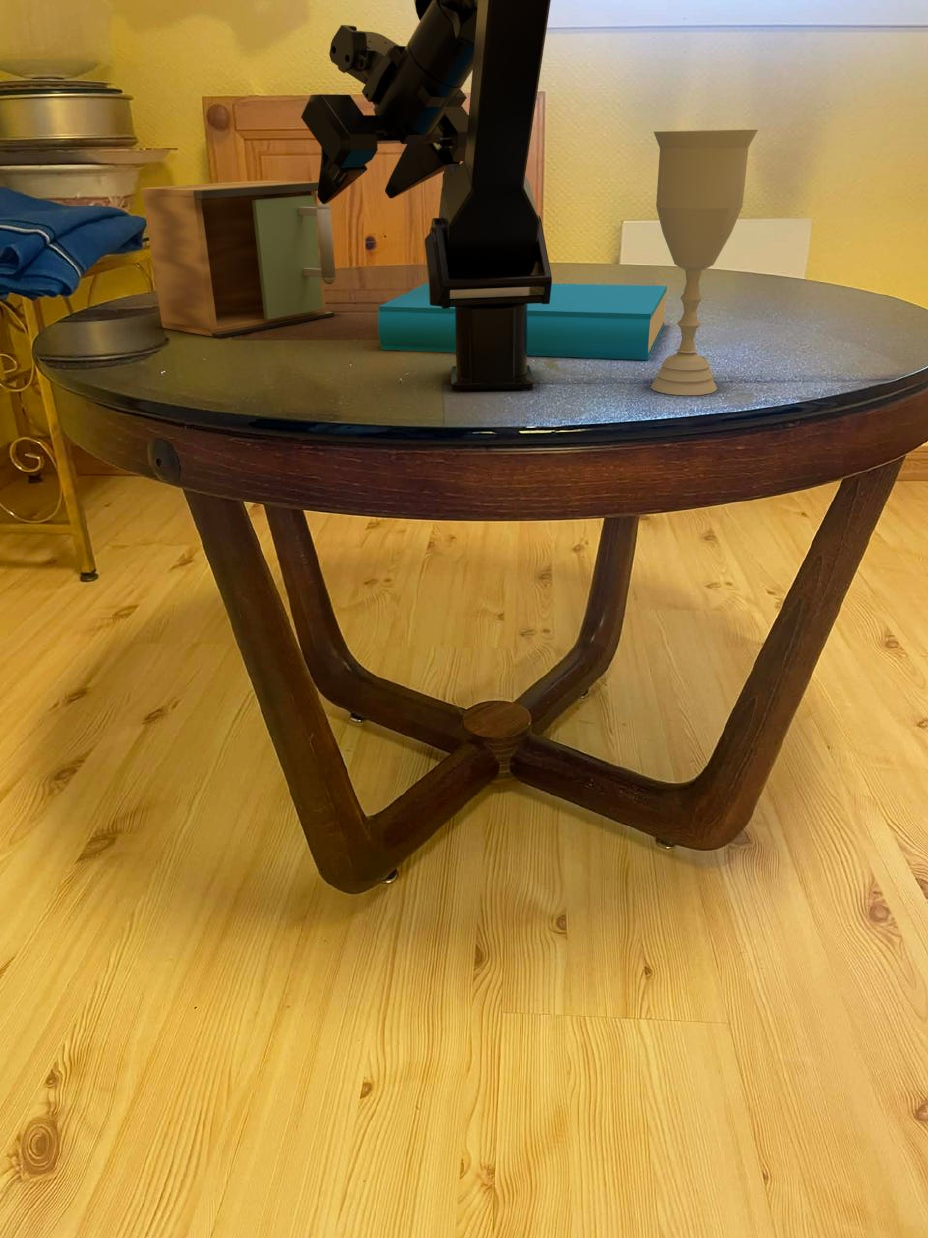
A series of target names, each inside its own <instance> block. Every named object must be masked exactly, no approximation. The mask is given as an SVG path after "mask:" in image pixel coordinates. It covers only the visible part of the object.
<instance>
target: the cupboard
mask: <svg viewBox="0 0 928 1238" xmlns="http://www.w3.org/2000/svg"><path fill="white" fill-rule="evenodd" d="M318 183H319V181H304V180H303V181H300V180H271V179H270V180H264V179H262V180H261V179H260V180H246V181H231V182H230V181H229V182H215V183H214V182H213V183H200V184H183V185H182V184H181V185H170V186H167V185H166V186H151V187H141V195H142V203H143V209H144V215H145V221H146V222H145V224H146V229H147V236H148V240H149V241H148V243H149V248H150V255H151V262H152V268H153V269H152V270H153V276H154V281H155V288H156V295H157V302H158V307H159V313H160V321H161V327H162V328H163V329H167V330H172V331H179V332H184V333H191V334H195V335H200V336H207V337H212V338H217V339H224V338H229V337H235V336H239V335H244V334H249V333H254V332H259V331H265V330H271V329H274V328H280V327H285V326H289V325H294V324H295V325H296V324H300V323H305V322H310V321H316V320H319V319H326V318H331V317H334V316H335V312H334V311H329V310H328V311H327V308H326V297H325V282H324V281H323V279H322V278H320V279H321V292H322V304H323V310H319V311H314V312H308V313H303V314H298V315H293V316H287V317H282V318H277V319H271V320H265V319H264V310H263V301H262V291H261V282H260V273H259V263H258V254H257V244H256V235H255V225H254V216H253V206H252V200H254V199H266V198H279V197H291V196H304V195H314V203H315V207H317V205H318V197H317V192H318ZM316 229H317V241H318V254H319V267H320V269H321V258H320V245H319V232H318V219H317V216H316Z"/></svg>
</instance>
